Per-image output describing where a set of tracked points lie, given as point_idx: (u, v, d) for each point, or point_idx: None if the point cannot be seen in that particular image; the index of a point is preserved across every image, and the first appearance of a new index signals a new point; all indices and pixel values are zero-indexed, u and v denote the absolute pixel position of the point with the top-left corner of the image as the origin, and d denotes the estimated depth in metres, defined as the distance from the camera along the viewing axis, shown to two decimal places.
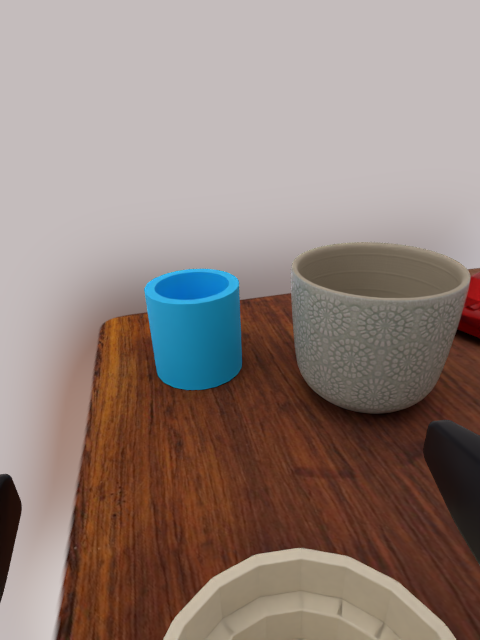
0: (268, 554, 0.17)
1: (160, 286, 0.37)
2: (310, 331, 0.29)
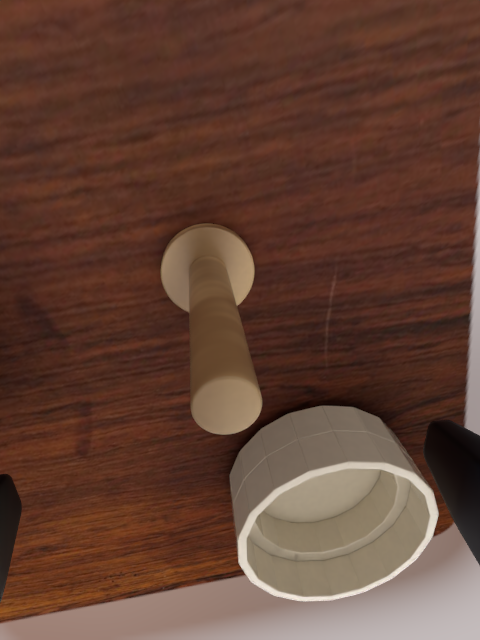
0: (237, 553, 0.22)
1: None
2: None
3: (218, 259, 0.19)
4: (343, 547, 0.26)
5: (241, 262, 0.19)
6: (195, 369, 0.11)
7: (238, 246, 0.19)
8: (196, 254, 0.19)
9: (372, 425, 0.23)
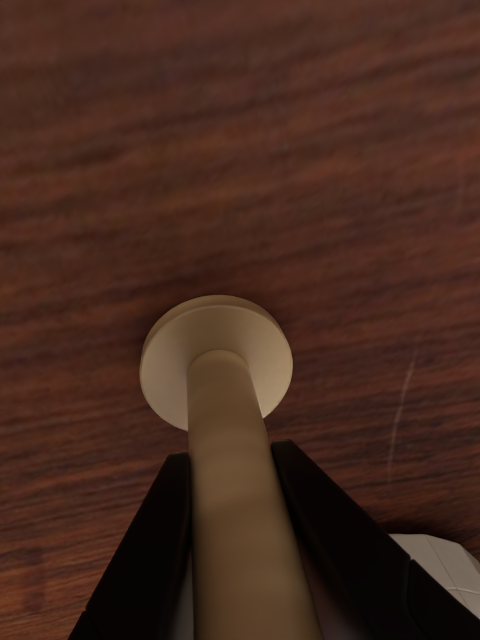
0: None
1: None
2: None
3: (235, 356, 0.11)
4: None
5: (272, 356, 0.12)
6: None
7: (268, 333, 0.11)
8: (198, 347, 0.11)
9: (457, 568, 0.16)
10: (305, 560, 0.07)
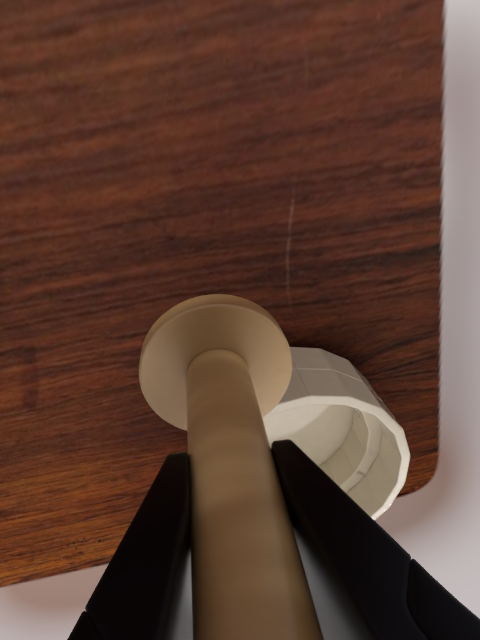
0: None
1: None
2: None
3: (235, 355, 0.11)
4: None
5: (272, 356, 0.12)
6: None
7: (267, 333, 0.11)
8: (198, 347, 0.11)
9: (339, 365, 0.21)
10: (305, 560, 0.07)
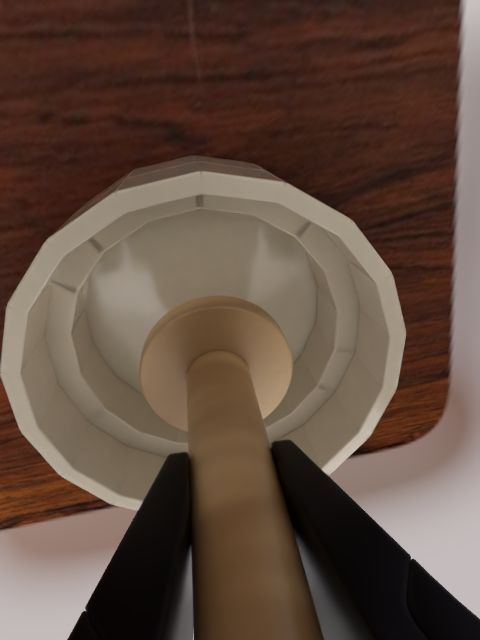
0: (16, 411, 0.11)
1: None
2: None
3: (235, 356, 0.11)
4: None
5: (272, 357, 0.12)
6: None
7: (268, 334, 0.11)
8: (198, 348, 0.11)
9: None
10: (305, 560, 0.07)
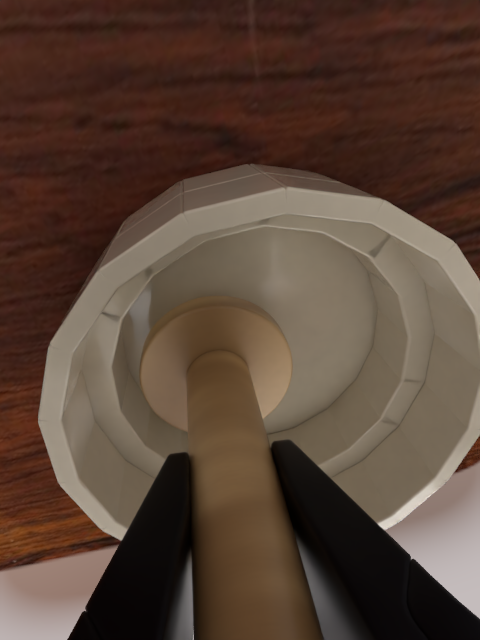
0: (53, 461, 0.10)
1: None
2: None
3: (235, 356, 0.11)
4: None
5: (272, 357, 0.12)
6: None
7: (268, 334, 0.11)
8: (198, 348, 0.11)
9: None
10: (305, 560, 0.07)
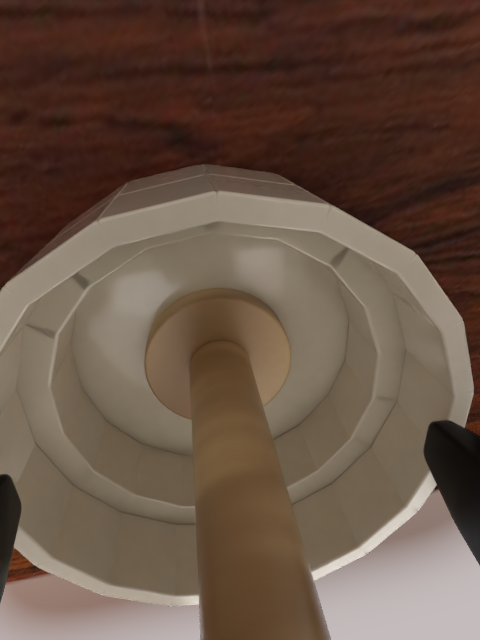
0: None
1: None
2: None
3: (236, 346, 0.12)
4: None
5: (272, 347, 0.12)
6: None
7: (267, 324, 0.12)
8: (201, 338, 0.12)
9: None
10: None
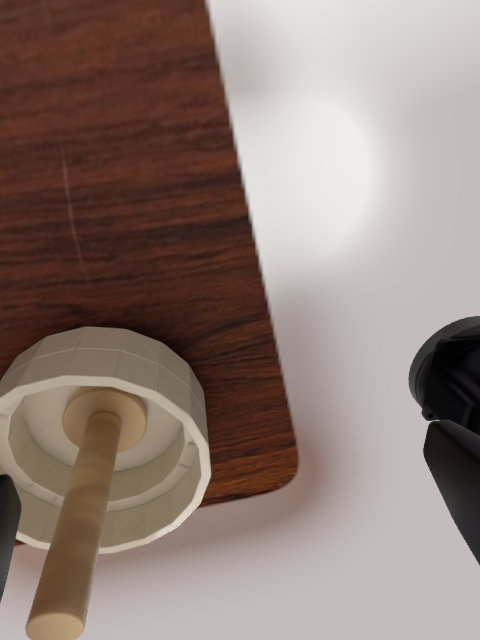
0: None
1: None
2: None
3: (111, 415, 0.22)
4: (139, 495, 0.23)
5: (133, 414, 0.22)
6: (37, 591, 0.14)
7: (128, 403, 0.22)
8: (92, 410, 0.22)
9: (138, 346, 0.20)
10: None
